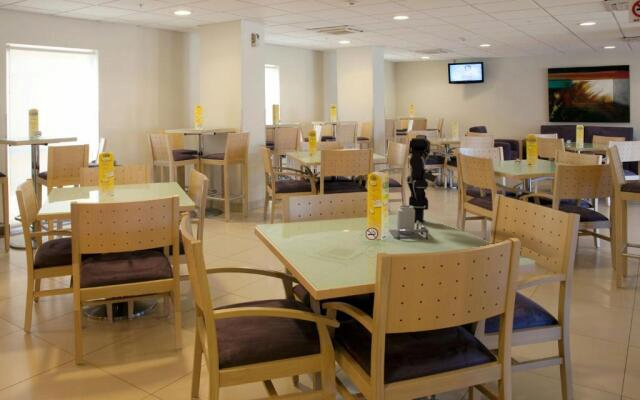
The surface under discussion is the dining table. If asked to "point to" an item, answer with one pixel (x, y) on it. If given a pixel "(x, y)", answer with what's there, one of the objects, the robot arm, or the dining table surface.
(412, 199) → the robot arm
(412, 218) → the can
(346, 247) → the dining table surface
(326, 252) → the dining table surface
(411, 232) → the rail
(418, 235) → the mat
